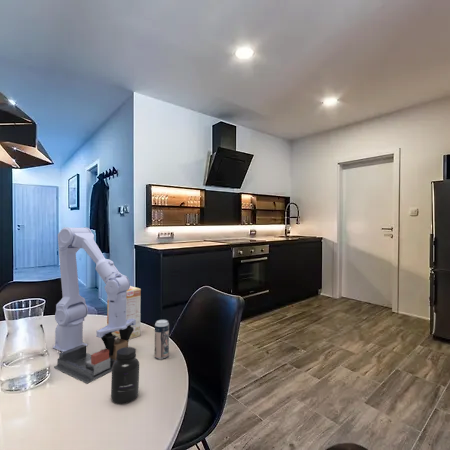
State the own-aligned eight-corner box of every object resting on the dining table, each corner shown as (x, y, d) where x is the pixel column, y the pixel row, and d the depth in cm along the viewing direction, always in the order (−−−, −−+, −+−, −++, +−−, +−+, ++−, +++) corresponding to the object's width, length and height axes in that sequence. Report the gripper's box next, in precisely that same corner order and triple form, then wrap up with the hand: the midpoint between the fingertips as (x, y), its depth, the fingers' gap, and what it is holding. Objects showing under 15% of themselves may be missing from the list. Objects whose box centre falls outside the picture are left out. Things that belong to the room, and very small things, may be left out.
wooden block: (105, 357, 95) (106, 340, 95) (118, 352, 100) (118, 336, 100) (115, 361, 93) (115, 344, 93) (127, 355, 97) (128, 339, 97)
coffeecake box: (106, 331, 119) (106, 285, 119) (121, 327, 124) (122, 283, 124) (124, 341, 109) (125, 290, 109) (140, 335, 115) (141, 288, 115)
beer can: (165, 360, 94) (165, 324, 94) (151, 358, 95) (152, 323, 95) (170, 354, 98) (171, 319, 98) (158, 352, 99) (158, 318, 99)
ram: (85, 371, 84) (85, 353, 84) (102, 364, 89) (102, 346, 89) (93, 375, 82) (94, 356, 82) (110, 367, 87) (110, 349, 87)
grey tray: (54, 367, 88) (54, 355, 88) (86, 354, 97) (87, 342, 97) (87, 383, 79) (87, 369, 79) (119, 367, 89) (119, 354, 89)
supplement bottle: (122, 408, 69) (123, 359, 69) (105, 399, 72) (106, 352, 72) (144, 394, 75) (144, 348, 75) (127, 386, 78) (127, 343, 78)
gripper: (106, 319, 88) (106, 363, 88) (141, 308, 101) (141, 346, 100) (92, 316, 92) (92, 357, 91) (128, 305, 104) (127, 342, 104)
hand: (116, 351), depth 96 cm, fingers closed on wooden block, 5 cm apart
